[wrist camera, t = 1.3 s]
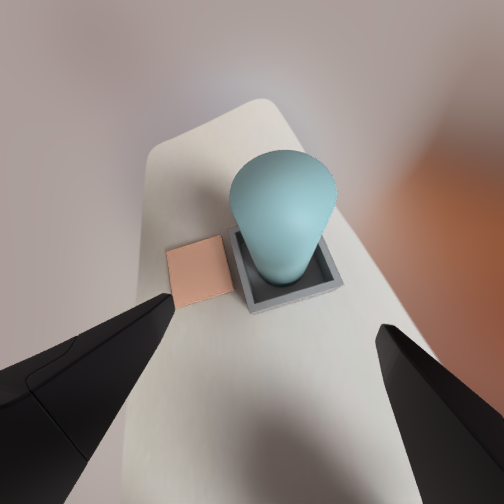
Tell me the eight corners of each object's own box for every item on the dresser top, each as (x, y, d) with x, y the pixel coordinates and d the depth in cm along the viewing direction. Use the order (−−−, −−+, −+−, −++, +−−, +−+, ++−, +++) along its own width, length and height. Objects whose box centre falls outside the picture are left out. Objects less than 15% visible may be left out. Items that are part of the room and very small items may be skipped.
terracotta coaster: (234, 290, 22) (233, 289, 21) (176, 308, 22) (174, 307, 21) (221, 236, 24) (219, 234, 23) (168, 253, 24) (166, 251, 23)
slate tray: (334, 290, 20) (344, 284, 17) (254, 314, 21) (249, 313, 17) (304, 219, 23) (308, 203, 20) (234, 241, 23) (227, 229, 20)
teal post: (313, 279, 21) (355, 220, 9) (264, 293, 21) (244, 255, 9) (295, 235, 22) (312, 137, 11) (251, 249, 22) (219, 168, 11)
